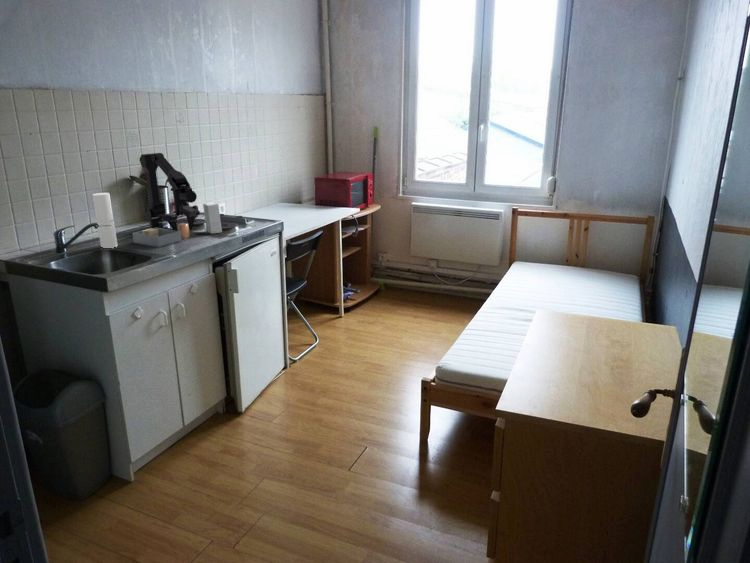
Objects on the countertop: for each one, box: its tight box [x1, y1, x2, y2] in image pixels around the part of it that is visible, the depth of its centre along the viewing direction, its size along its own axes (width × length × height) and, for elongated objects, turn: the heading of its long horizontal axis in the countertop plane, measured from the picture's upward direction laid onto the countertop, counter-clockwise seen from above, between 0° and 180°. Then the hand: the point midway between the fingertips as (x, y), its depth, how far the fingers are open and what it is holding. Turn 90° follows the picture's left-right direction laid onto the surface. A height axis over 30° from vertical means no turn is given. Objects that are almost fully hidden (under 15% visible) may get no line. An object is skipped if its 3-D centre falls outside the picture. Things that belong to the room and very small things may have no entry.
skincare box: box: [202, 201, 223, 234], centre depth 291 cm, size 8×6×15 cm
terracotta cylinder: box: [177, 222, 191, 240], centre depth 281 cm, size 5×5×7 cm
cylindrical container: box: [91, 192, 118, 249], centre depth 262 cm, size 7×7×25 cm
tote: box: [132, 228, 183, 248], centre depth 272 cm, size 18×14×5 cm
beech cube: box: [141, 228, 159, 236], centre depth 274 cm, size 5×5×5 cm
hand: (183, 231), depth 281 cm, fingers open, 9 cm apart
